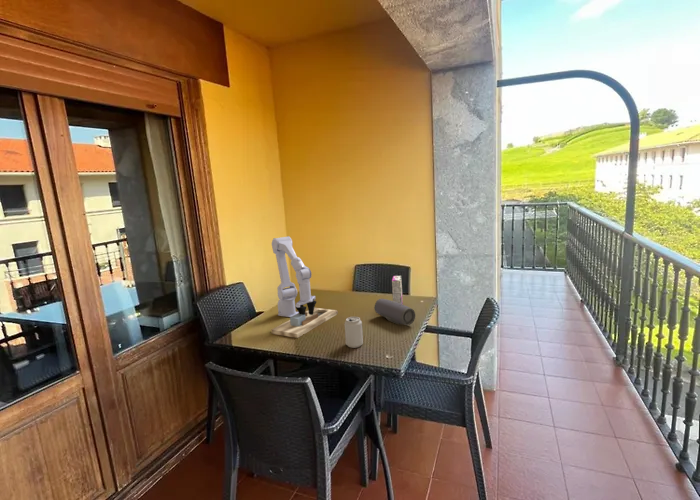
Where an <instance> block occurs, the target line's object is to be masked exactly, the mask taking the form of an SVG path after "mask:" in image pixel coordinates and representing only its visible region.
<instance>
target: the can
mask: <svg viewBox="0 0 700 500" xmlns="http://www.w3.org/2000/svg"><path fill="white" fill-rule="evenodd" d="M344 333H345V335H344V336H345V345H346V346H347V347H349V348H351V349H352V348H353V349H354V348H355V349H356V348H357V349H358V348H360V347H361V346H363V344H364V339H363V338H364V337H363V321H362V320H361V317H358V316H350V317H347V318H345V321H344Z"/></svg>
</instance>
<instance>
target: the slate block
mask: <svg viewBox="0 0 700 500" xmlns="http://www.w3.org/2000/svg"><path fill="white" fill-rule="evenodd" d="M305 319H306V318H305V315H302V314H299V313H298V314H296V315H294V316H292V317H289V320H290V322H291V325H292V326H298V327H299V326H301V325H302V321H303V320H305Z"/></svg>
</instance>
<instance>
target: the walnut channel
mask: <svg viewBox="0 0 700 500" xmlns="http://www.w3.org/2000/svg"><path fill="white" fill-rule="evenodd" d="M306 316H307V312H306V311H305V317H306ZM316 318H318V314H317V313H316V314H314V315H313V316H311V317H309V318H307V319H305V320H303V321H302V326H304V325H305V324H307V323H309V322H311V321H313V320H314V319H316ZM290 323H291V322H290Z"/></svg>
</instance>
